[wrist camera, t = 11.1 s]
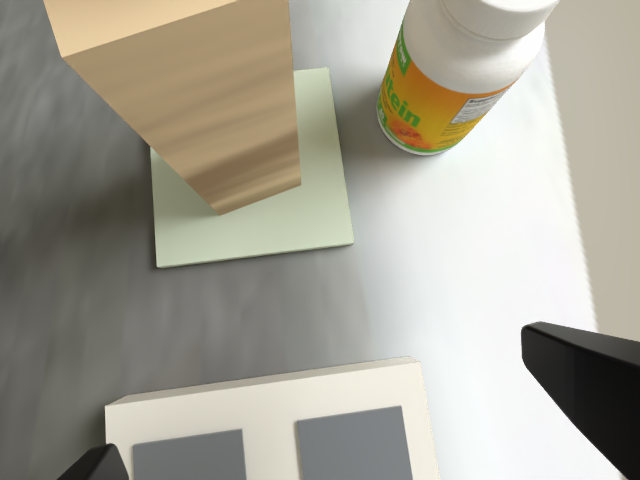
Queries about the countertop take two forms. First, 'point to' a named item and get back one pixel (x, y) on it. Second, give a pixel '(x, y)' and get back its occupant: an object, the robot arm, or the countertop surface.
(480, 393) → the countertop surface
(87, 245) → the countertop surface
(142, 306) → the countertop surface
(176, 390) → the label panel
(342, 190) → the mat
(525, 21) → the supplement bottle
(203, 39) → the oak post
